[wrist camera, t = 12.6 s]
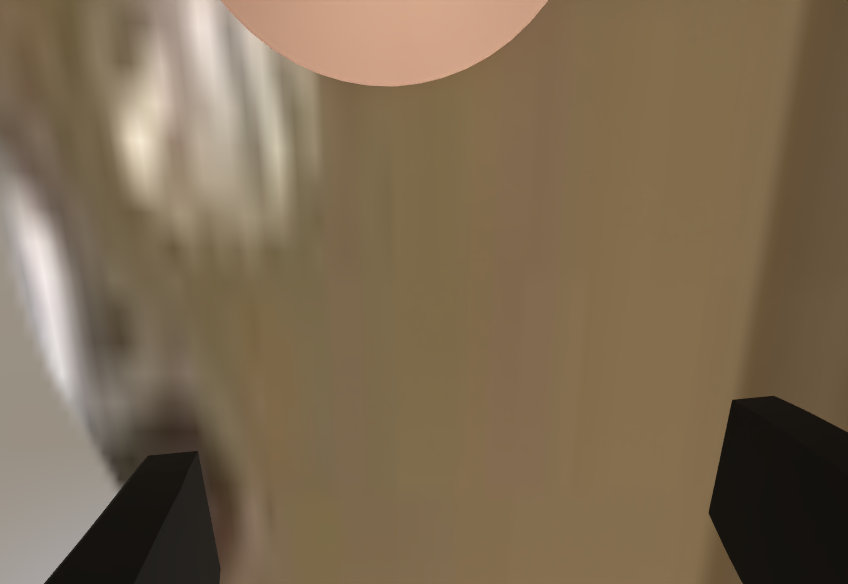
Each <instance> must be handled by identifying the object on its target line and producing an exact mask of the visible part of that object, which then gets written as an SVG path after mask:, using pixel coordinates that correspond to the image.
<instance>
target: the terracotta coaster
mask: <svg viewBox="0 0 848 584" xmlns="http://www.w3.org/2000/svg"><path fill="white" fill-rule="evenodd" d="M221 1H222V2H223V3H224V4H225V6H226V7H227V8H228V10H229V11H230V12H231V13H232V14H233V15H234V16H235V17H236V18H237V19H238V20H239V21H240V22H241V23H242V24H243V25H244V26H245V27H246V28H247V29H248V30H249V31H250V32H251V33H253V34H254V35H255V36H256V37H258V38H259V39H260V40H261V41H263V42H264V43H265V44H266V45H268V46H269V47H270V48H271V49H273V50H275V51H276V52H278V53H280V54H281V55H283V56H284V57H286V58H288V59H289V60H291V61H293V62H294V63H296V64H298V65H301V66H303V67H305V68H307V69H310V70H312V71H314V72H316V73H318V74H321V75H325V76H328V77H331V78H335V79H338V80H341V81H344V82H351V83H357V84H363V85H369V86H402V85H411V84H420V83H424V82H428V81H432V80H436V79H440V78H444V77H447V76H449V75H452V74H454V73H457V72H459V71H462V70H464V69H467V68H469V67H471V66H472V65H474V64H476V63H478V62H480V61H481V60H483V59H485V58H487V57H489V56H490V55H492V54H493V53H494V52H496V51H497V50H498V49H500V48H501V47H503V46H504V45H505V44H507V43H508V42H509V41H511V40H512V39H513V38H514V37H515V36H516V35H517V34H518V33H519V32H520V31H521V30H522V29H523V28H524V27H525V26H527V25H528V24H529V23H530V22H531V20H532V19H533V18H534V17H535V16H536V14H537V13H538V12H539V11H540V10H541V8H542V7H543V6H544V5H545V4H546V2H547V1H548V0H221Z"/></svg>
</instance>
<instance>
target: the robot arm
mask: <svg viewBox="0 0 848 584" xmlns="http://www.w3.org/2000/svg"><path fill="white" fill-rule="evenodd" d="M709 515H710V517H711V519H712V522H713V524H714V526H715V528H716V530H717V532H718V535H719V537H720V539H721V541H722V543H723V545H724V548H725V550H726V552H727V554H728V556H729V558H730V560H731V562H732V564H733V565H734V567H735V569H736V571H737V573H738V575H739V577H740V579H741V581H742V583H743V584H848V432H846V431H844V430H842V429H840V428H838V427H836V426H835V425H833V424H831V423H829V422H827V421H825V420H823V419H821V418H819V417H817V416H815V415H813V414H811V413H809V412H807V411H805V410H803V409H801V408H799V407H797V406H795V405H793V404H791V403H789V402H786V401H784V400H782V399H780V398H777V397H775V396H768V397H757V398H747V399H737V400H732V404H731V408H730V413H729V418H728V423H727V428H726V432H725V437H724V442H723V447H722V451H721V456H720V461H719V466H718V471H717V475H716V480H715V485H714V490H713V495H712V499H711V504H710V509H709ZM219 581H220V564H219V559H218V554H217V549H216V543H215V538H214V533H213V528H212V523H211V517H210V512H209V507H208V502H207V497H206V491H205V486H204V481H203V476H202V471H201V465H200V460H199V455H198V451H193V452H183V453H172V454H162V455H151V456H148V457H147V458H146V459H145V460H144V461H143V462H142V463H141V464H140V466H139V467H138V468H137V469H136V471H135V472H134V473H133V474H132V476H131V477H130V478H129V479H128V481H127V482H126V483H125V484H124V486H123V487H122V488H121V490H120V491H119V492H118V493H117V495H116V496H115V497H114V499H113V500H112V501H111V502H110V504H109V505H108V506H107V508H106V509H105V510H104V511H103V513H102V514H101V515H100V516H99V518H98V519H97V520H96V521H95V523H94V524H93V525H92V526H91V528H90V529H89V530H88V531H87V533H86V534H85V535H84V536H83V538H82V539H81V540H80V541H79V542H78V544H77V545H76V546H75V547H74V549H73V550H72V551H71V552H70V553H69V554H68V556H67V557H66V558H65V559H64V560H63V562H62V563H61V564H60V565H59V566H58V568H57V569H56V570H55V571H54V572H53V574H52V575H51V576H50V577H49V578H48V580H47V581H46V582H45V583H44V584H219Z"/></svg>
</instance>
